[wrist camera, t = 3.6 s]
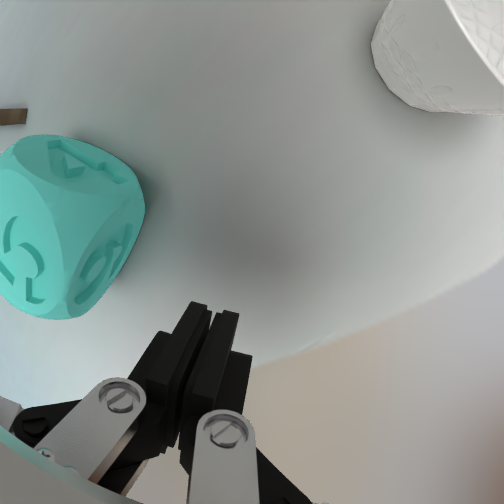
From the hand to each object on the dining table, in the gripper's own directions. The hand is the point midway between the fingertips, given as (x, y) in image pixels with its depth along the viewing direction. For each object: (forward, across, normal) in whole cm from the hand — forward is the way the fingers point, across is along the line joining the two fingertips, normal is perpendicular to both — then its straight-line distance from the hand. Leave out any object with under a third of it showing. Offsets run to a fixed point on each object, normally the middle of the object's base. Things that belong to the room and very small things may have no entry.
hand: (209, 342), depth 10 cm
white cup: (+9, -8, -15) cm, 19 cm away
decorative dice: (+9, +11, -1) cm, 14 cm away
